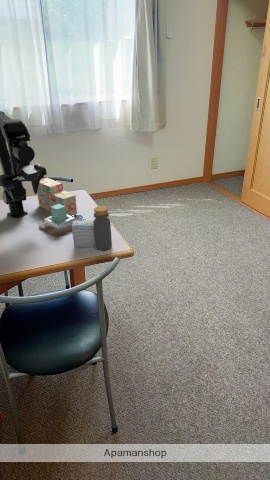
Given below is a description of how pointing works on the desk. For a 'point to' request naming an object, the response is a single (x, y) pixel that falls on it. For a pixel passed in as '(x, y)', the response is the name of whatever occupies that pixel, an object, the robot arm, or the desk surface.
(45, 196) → the stack of blocks
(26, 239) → the desk surface
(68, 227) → the base board
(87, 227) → the medicine box
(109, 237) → the bottle
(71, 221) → the frame
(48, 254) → the desk surface
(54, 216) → the teal block
